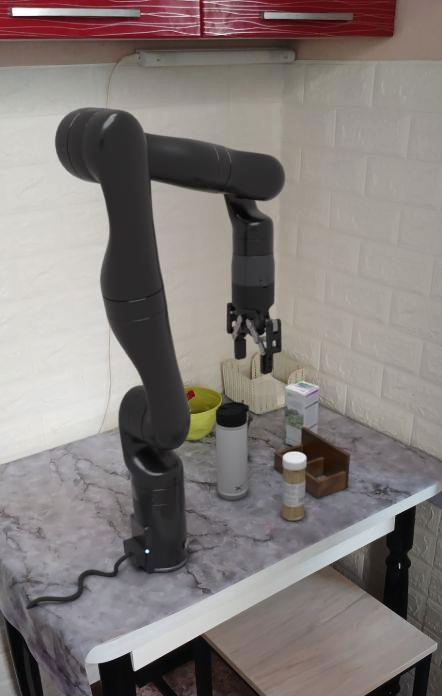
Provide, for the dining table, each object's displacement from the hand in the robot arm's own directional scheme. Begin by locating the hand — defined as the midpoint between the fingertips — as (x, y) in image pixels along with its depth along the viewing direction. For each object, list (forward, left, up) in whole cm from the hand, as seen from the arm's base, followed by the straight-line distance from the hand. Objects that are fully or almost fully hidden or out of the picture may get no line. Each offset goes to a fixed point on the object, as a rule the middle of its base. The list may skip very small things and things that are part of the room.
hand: (253, 365), depth 140 cm
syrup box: (+24, +16, -30) cm, 42 cm away
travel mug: (-1, +6, -30) cm, 31 cm away
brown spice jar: (+4, -8, -30) cm, 32 cm away
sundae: (+8, +18, -30) cm, 36 cm away
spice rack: (+16, +2, -30) cm, 34 cm away
